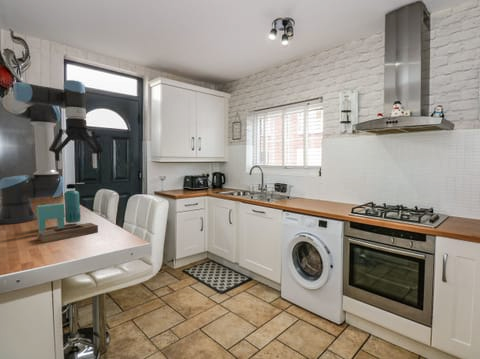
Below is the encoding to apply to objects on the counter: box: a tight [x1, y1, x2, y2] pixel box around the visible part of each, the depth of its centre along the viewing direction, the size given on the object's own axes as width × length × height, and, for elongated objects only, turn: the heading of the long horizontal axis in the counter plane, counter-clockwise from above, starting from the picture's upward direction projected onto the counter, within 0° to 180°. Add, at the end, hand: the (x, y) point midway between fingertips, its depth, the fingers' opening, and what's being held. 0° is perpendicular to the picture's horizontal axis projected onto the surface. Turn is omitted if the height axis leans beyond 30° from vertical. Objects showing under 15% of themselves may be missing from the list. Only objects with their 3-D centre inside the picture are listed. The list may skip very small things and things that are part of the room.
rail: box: [36, 222, 99, 244], centre depth 114 cm, size 8×20×3 cm, turn 140°
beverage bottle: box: [63, 183, 81, 224], centre depth 132 cm, size 6×7×20 cm
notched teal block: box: [36, 202, 65, 231], centre depth 119 cm, size 3×9×12 cm, turn 140°
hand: (78, 168), depth 117 cm, fingers open, 13 cm apart
